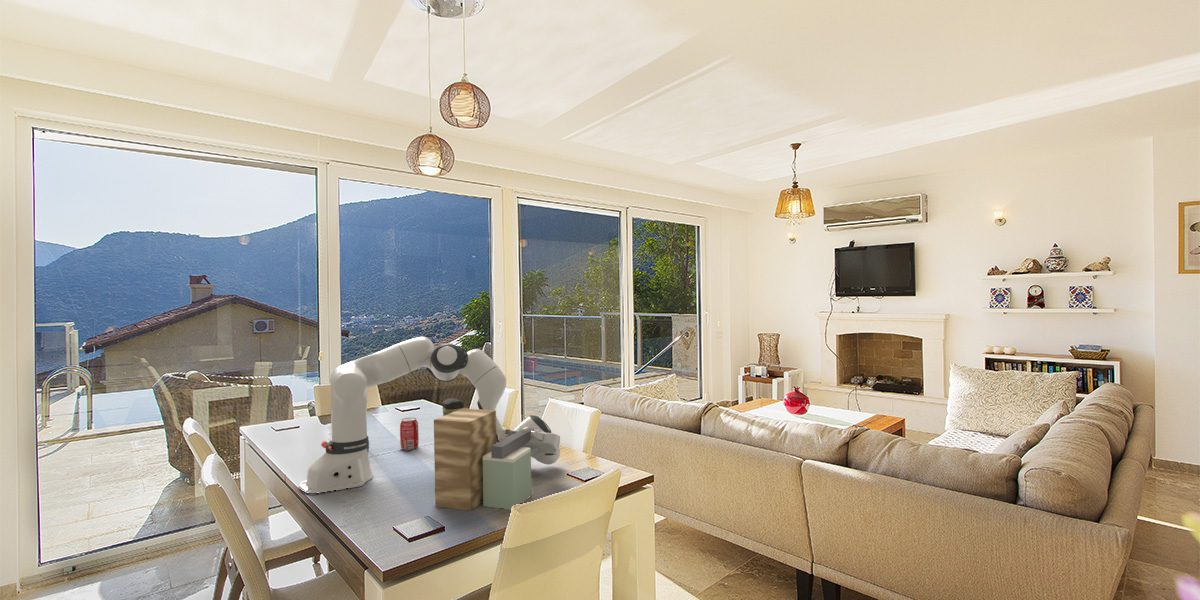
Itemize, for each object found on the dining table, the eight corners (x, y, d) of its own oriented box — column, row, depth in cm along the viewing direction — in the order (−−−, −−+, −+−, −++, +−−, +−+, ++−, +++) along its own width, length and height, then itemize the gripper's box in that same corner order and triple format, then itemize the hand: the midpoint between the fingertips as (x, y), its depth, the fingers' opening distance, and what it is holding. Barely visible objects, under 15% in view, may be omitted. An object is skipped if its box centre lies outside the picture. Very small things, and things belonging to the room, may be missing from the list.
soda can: (412, 444, 232) (411, 416, 232) (422, 447, 227) (421, 418, 227) (396, 448, 226) (396, 419, 226) (406, 452, 222) (406, 422, 222)
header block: (513, 510, 163) (512, 459, 162) (483, 506, 166) (482, 456, 166) (531, 495, 174) (530, 447, 174) (502, 492, 177) (502, 445, 177)
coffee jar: (467, 443, 233) (466, 399, 232) (448, 447, 228) (447, 401, 228) (458, 438, 241) (458, 395, 240) (440, 441, 236) (440, 398, 236)
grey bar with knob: (502, 458, 163) (501, 444, 163) (491, 457, 164) (491, 443, 164) (534, 439, 184) (534, 426, 184) (524, 438, 185) (524, 425, 185)
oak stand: (470, 510, 163) (468, 422, 162) (435, 505, 167) (433, 419, 166) (497, 491, 178) (495, 410, 177) (464, 487, 182) (463, 408, 181)
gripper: (510, 432, 194) (492, 420, 182) (564, 436, 187) (550, 424, 176) (506, 450, 191) (488, 439, 179) (561, 455, 184) (546, 444, 173)
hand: (519, 432), depth 177 cm, fingers open, 8 cm apart
